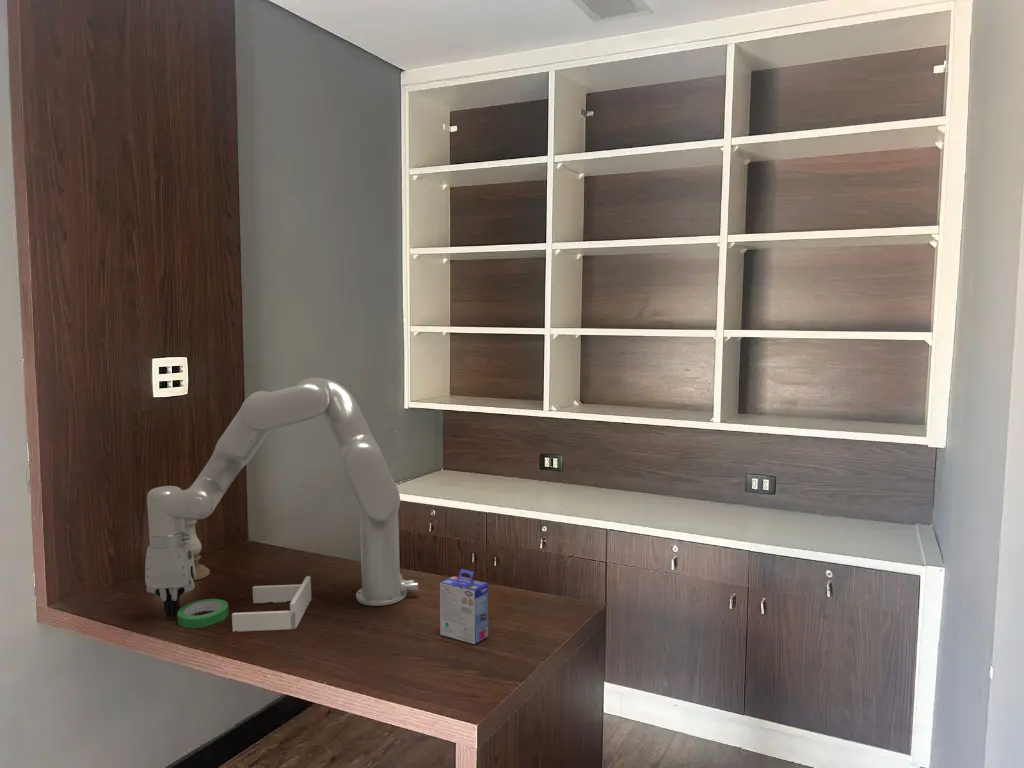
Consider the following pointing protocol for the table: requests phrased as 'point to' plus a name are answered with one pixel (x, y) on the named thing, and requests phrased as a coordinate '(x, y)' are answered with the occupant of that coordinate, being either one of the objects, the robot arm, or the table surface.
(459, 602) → the ink cartridge box
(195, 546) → the candle holder
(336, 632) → the table surface
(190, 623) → the tape roll
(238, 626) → the box
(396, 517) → the robot arm
